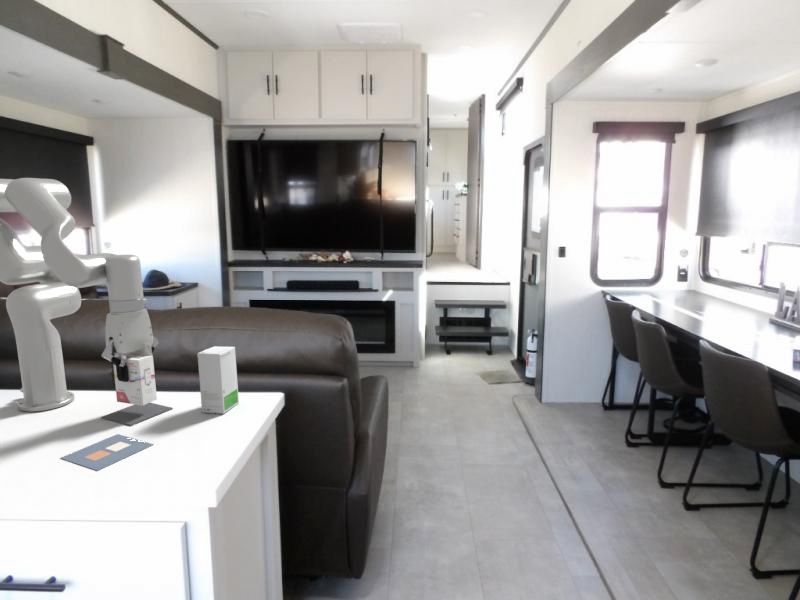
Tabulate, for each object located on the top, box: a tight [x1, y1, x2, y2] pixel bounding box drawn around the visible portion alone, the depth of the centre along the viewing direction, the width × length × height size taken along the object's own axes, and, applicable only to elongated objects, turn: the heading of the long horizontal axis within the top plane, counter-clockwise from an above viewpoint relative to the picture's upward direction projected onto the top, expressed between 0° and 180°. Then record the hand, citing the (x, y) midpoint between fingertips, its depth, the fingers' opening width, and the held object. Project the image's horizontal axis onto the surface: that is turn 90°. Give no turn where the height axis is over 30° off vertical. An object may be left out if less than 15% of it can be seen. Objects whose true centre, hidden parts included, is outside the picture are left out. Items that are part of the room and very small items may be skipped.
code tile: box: [60, 433, 154, 472], centre depth 113 cm, size 12×13×1 cm
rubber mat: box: [100, 402, 174, 427], centre depth 134 cm, size 11×12×1 cm
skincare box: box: [196, 346, 240, 415], centre depth 136 cm, size 8×7×16 cm
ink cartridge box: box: [113, 343, 157, 406], centre depth 132 cm, size 9×5×15 cm, turn 71°
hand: (134, 376), depth 132 cm, fingers closed on ink cartridge box, 5 cm apart
